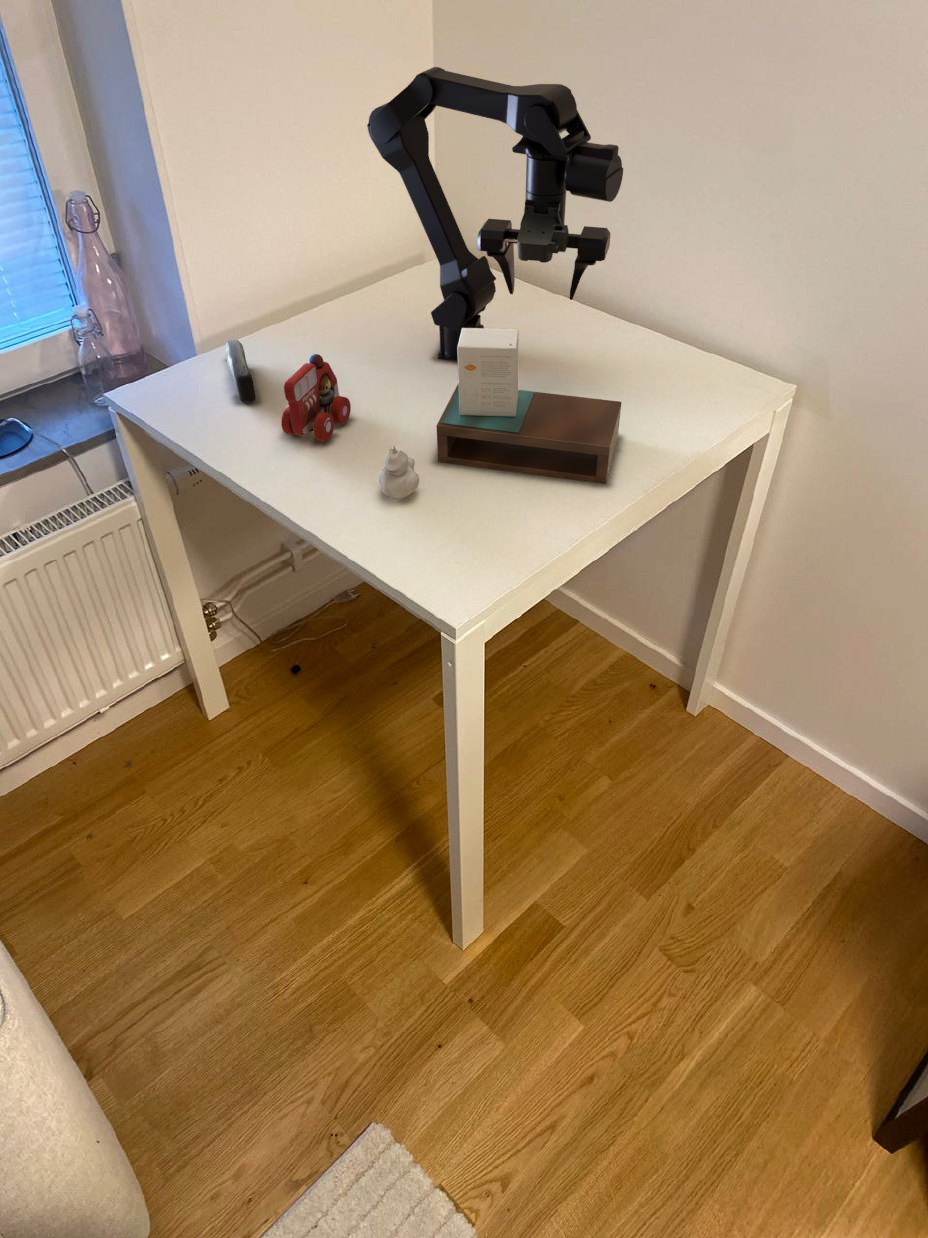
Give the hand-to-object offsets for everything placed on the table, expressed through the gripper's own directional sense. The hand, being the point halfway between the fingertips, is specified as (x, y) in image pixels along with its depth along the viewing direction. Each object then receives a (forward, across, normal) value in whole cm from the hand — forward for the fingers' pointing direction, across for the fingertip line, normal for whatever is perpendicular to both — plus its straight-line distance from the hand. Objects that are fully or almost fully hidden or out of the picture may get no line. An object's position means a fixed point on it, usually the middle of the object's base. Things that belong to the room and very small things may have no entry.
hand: (541, 295), depth 142 cm
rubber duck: (+13, -12, -36) cm, 40 cm away
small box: (+7, -3, -22) cm, 23 cm away
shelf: (+13, +3, -22) cm, 26 cm away
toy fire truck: (+13, -29, -23) cm, 39 cm away
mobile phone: (+13, -46, -13) cm, 50 cm away
